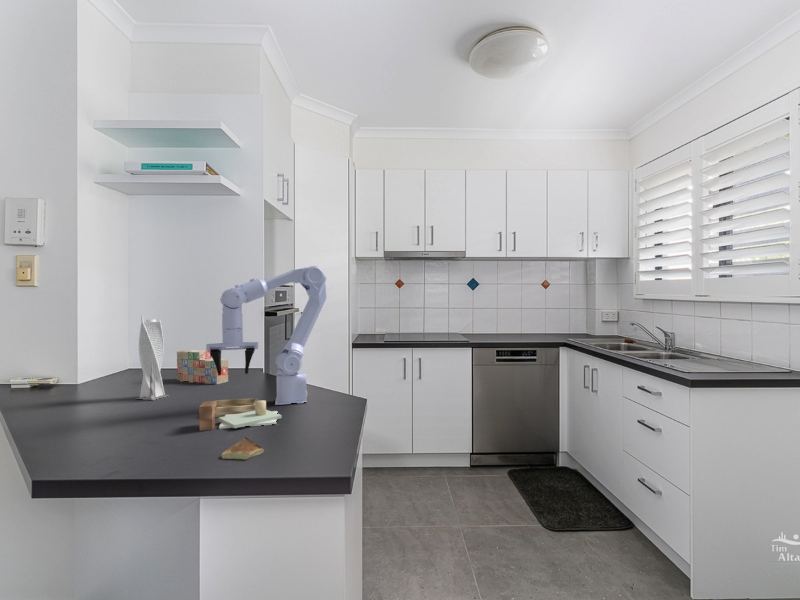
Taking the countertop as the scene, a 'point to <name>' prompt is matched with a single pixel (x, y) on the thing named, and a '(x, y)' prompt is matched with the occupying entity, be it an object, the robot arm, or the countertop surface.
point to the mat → (249, 425)
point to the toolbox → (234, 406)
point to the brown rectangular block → (207, 415)
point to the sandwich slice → (242, 450)
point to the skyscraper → (151, 359)
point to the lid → (251, 416)
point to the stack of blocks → (200, 367)
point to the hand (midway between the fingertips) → (233, 373)
